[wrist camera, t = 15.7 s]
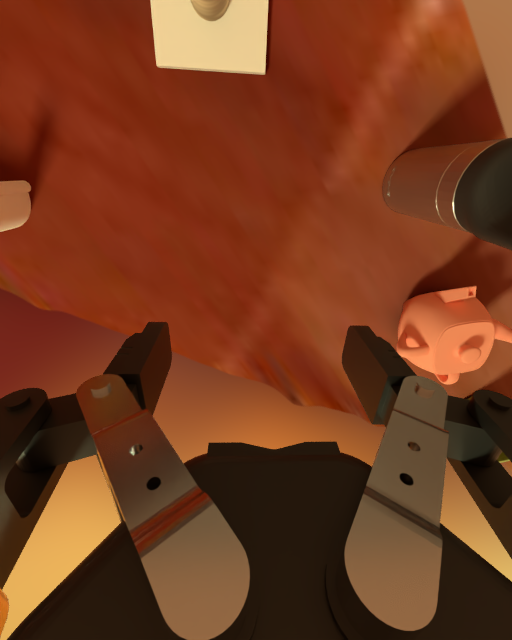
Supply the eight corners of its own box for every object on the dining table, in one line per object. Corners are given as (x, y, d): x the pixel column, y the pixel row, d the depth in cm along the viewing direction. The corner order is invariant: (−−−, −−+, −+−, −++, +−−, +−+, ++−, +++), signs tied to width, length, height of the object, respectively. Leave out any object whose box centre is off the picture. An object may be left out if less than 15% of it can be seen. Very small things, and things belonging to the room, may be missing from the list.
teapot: (430, 261, 51) (487, 290, 40) (485, 306, 56) (550, 344, 45) (368, 327, 57) (401, 369, 46) (423, 362, 62) (466, 408, 51)
